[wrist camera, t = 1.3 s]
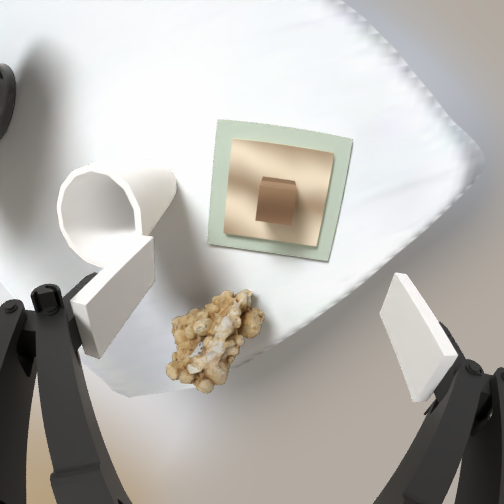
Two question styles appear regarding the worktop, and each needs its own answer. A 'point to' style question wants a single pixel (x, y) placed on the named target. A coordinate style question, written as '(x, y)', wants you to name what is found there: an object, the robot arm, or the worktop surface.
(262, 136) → the mat
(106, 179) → the foam cup
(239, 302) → the mineral formation
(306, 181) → the lid
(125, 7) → the worktop surface
